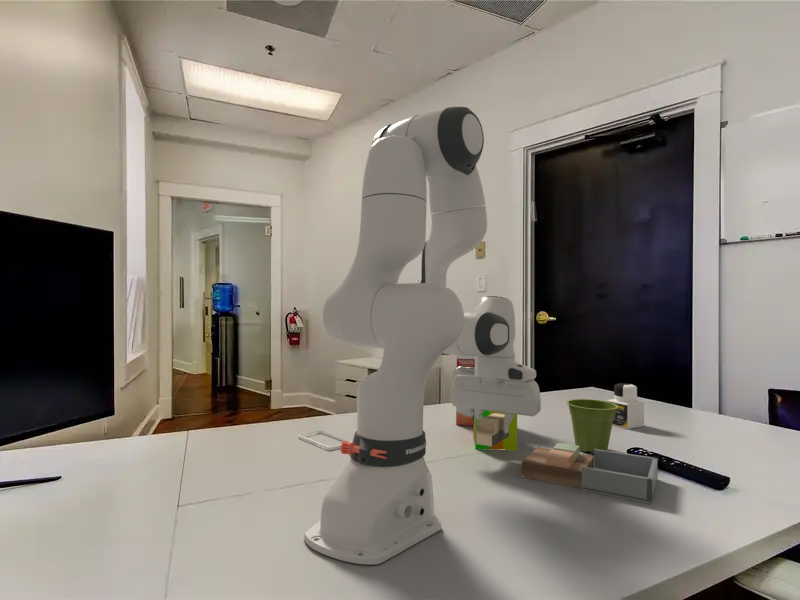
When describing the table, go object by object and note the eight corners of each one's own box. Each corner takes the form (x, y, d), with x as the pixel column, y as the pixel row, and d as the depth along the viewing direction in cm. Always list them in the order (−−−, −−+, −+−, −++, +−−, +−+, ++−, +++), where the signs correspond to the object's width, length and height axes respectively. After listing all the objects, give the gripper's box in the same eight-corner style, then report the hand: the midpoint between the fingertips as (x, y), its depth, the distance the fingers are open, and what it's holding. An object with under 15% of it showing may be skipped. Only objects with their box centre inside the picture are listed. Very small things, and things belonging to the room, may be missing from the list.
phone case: (353, 446, 122) (320, 434, 133) (353, 441, 122) (320, 429, 133) (328, 452, 117) (297, 439, 128) (328, 447, 117) (297, 434, 128)
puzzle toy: (511, 439, 127) (511, 401, 127) (517, 450, 117) (517, 409, 117) (473, 438, 128) (473, 400, 128) (475, 449, 118) (475, 408, 118)
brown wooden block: (582, 488, 94) (582, 472, 94) (521, 476, 100) (521, 461, 100) (593, 470, 104) (593, 456, 104) (537, 460, 110) (537, 447, 110)
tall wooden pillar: (491, 446, 103) (492, 422, 103) (476, 443, 104) (476, 420, 105) (509, 436, 112) (509, 414, 112) (494, 434, 114) (495, 412, 114)
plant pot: (603, 460, 110) (603, 411, 110) (556, 448, 119) (556, 402, 119) (627, 450, 117) (627, 404, 117) (582, 439, 126) (582, 396, 127)
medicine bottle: (606, 423, 143) (606, 383, 143) (623, 421, 146) (623, 381, 146) (627, 429, 137) (627, 387, 137) (644, 426, 140) (644, 385, 140)
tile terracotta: (569, 468, 96) (569, 458, 96) (546, 464, 98) (546, 454, 98) (573, 462, 100) (573, 452, 100) (551, 458, 102) (551, 449, 102)
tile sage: (575, 460, 101) (575, 451, 101) (553, 457, 103) (553, 447, 103) (579, 455, 104) (579, 445, 104) (558, 451, 107) (558, 442, 107)
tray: (652, 503, 86) (652, 479, 86) (581, 490, 93) (581, 467, 93) (657, 479, 98) (657, 458, 98) (594, 468, 105) (594, 448, 105)
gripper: (446, 366, 112) (445, 427, 111) (535, 373, 101) (534, 441, 100) (458, 364, 117) (457, 422, 116) (543, 371, 106) (542, 435, 106)
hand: (493, 431), depth 108 cm, fingers closed on tall wooden pillar, 3 cm apart
